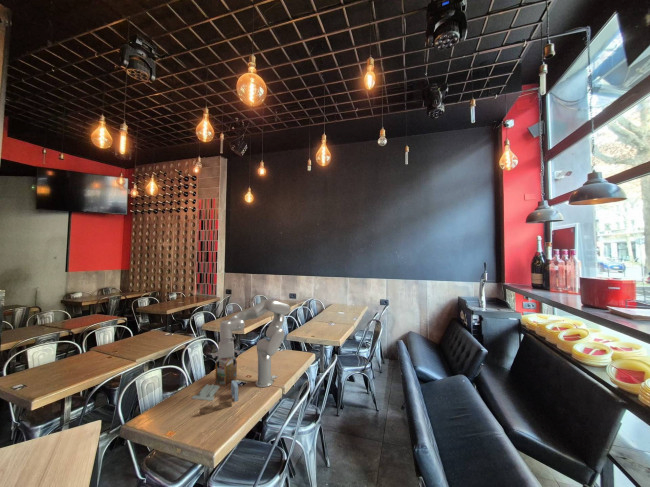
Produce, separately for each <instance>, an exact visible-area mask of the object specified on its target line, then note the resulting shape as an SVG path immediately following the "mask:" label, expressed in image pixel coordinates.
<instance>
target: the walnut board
mask: <svg viewBox="0 0 650 487" xmlns="http://www.w3.org/2000/svg"><path fill="white" fill-rule="evenodd" d="M232 403H233V400H232V398H230V399H226V400H223V401H219V402H218V405H215V406H214V405H213V404H208V405H205V406H202V407H199V412H198V413H199V414H198V415H199V417H201V416H205V415H208V414H211V413H215V412H218V411H221V410H224V409H228V408H232V407H233V406H232V405H233V404H232Z"/></svg>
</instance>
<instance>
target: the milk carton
mask: <svg viewBox="0 0 650 487" xmlns="http://www.w3.org/2000/svg"><path fill="white" fill-rule="evenodd" d="M233 359H234V358H233V357H229V358H222V359H219V368H218V366H217V362H216V361H215V372H214V374H215V377H214V378H215V382H214V383H215V384H216V385H218V384H219V385H221V386H224V387H227V386H228V385H230V384H231V381H233V380H235V381H237V380H238V379H237V378H238V377H237V376H238V374H237V372H238V370H237V369H238V361H237V360H236V364H235V366H233Z"/></svg>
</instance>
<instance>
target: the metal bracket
mask: <svg viewBox="0 0 650 487" xmlns="http://www.w3.org/2000/svg"><path fill="white" fill-rule="evenodd" d="M220 387H221V386H220V385H218V384H215V385H214V383H212V384H207V383H206V384H205V385H204V386H203V387H202V389H201V390H200V391H199V393H197V394H194V395H193V396H192V397H191V399H192V400H201V401H208V402H211V401H212V402H213V401H214V399H215V396H214V395H215V394H216V393H217V391H218V390H219V388H220Z"/></svg>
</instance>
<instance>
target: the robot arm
mask: <svg viewBox="0 0 650 487" xmlns="http://www.w3.org/2000/svg"><path fill="white" fill-rule="evenodd" d="M267 312H272V313H273V319H272V320H271V322H270V324H269V326H268V327H267V329H266V332H265V335H266V337H267V338H261V339H259V340H258V342H257V343H256V353H257V380H256V381H255V385H256V387H259V388H267V387H270V386H272V385H273V384H274V379H278V375H275V374H273V375H272V357H273V356H274V355H276V353H277V351H278V350H279V349H280V346H281V345H282V343H283V341H284V339H285V334H286V333H285V330H284V329H283V328H282V327H283V325H284V322H285V316H287V315H289V313H291V305H289V304H288V303H285V302H281V301H278V300H275V299H271V298H266V299H264V300H261V301H260V302H258V303H257V304H256V305H254V306H252V307H250V308H247V309H244V310H242V311H240V312H238V313H235V314H234V315H232V316H231V317H230V318H229V319H227V320H226V319H225V320H222V321H220V323H219V342H218V347H217V351H216V352H214V353H212V354H211V357H212V358H213V361H215V363H216V362H217V366H218V368H219V359H222V358H229V357H232V359H233V366H235V364H236V361H237V358H238V357H239V355H240V353H241V351H240V350H238V349H235V342H234V340H235V337H234V336H233V332H239V331H241V330H243V329H244V328H245V325H246V322H245V321H247V320H255V319H259V318H260V317H261V316H263V315H264V314H266V313H267ZM235 353H237V354H235ZM216 356H217V357H216Z"/></svg>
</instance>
